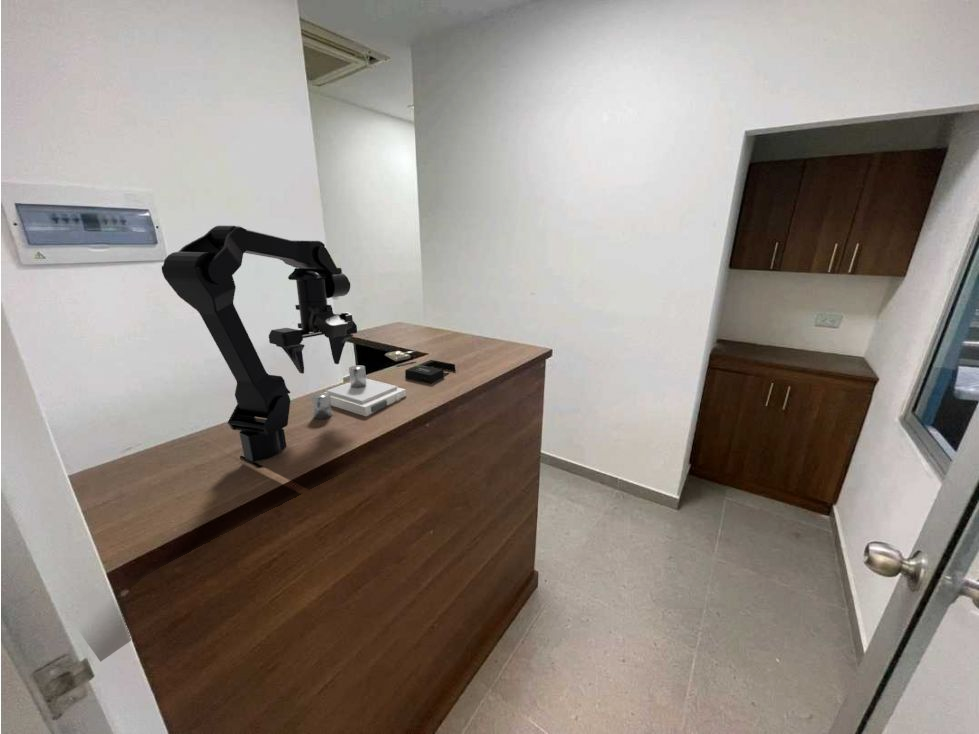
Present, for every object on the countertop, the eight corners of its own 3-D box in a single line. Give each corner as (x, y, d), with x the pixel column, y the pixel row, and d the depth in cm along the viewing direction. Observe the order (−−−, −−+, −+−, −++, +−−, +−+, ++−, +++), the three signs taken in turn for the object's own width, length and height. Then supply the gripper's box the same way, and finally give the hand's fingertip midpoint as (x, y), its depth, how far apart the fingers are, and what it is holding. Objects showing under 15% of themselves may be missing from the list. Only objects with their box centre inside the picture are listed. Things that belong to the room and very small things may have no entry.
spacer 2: (358, 389, 99) (356, 370, 98) (347, 386, 101) (345, 368, 100) (369, 384, 102) (368, 366, 101) (359, 381, 104) (357, 364, 103)
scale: (367, 416, 91) (366, 404, 90) (321, 402, 99) (320, 390, 98) (407, 398, 102) (406, 386, 101) (363, 386, 110) (362, 375, 109)
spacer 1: (322, 420, 89) (320, 399, 87) (310, 416, 90) (307, 396, 89) (335, 414, 92) (334, 394, 91) (323, 411, 94) (321, 391, 92)
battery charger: (430, 388, 111) (430, 375, 109) (405, 382, 115) (404, 369, 114) (455, 376, 122) (455, 364, 120) (431, 371, 126) (431, 359, 125)
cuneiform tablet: (396, 355, 126) (382, 348, 135) (398, 368, 127) (383, 360, 136) (416, 351, 130) (400, 344, 139) (417, 363, 131) (401, 356, 140)
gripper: (296, 307, 72) (305, 385, 77) (371, 299, 88) (375, 364, 92) (262, 303, 78) (272, 376, 82) (338, 296, 93) (344, 358, 97)
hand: (320, 368), depth 88 cm, fingers open, 9 cm apart
